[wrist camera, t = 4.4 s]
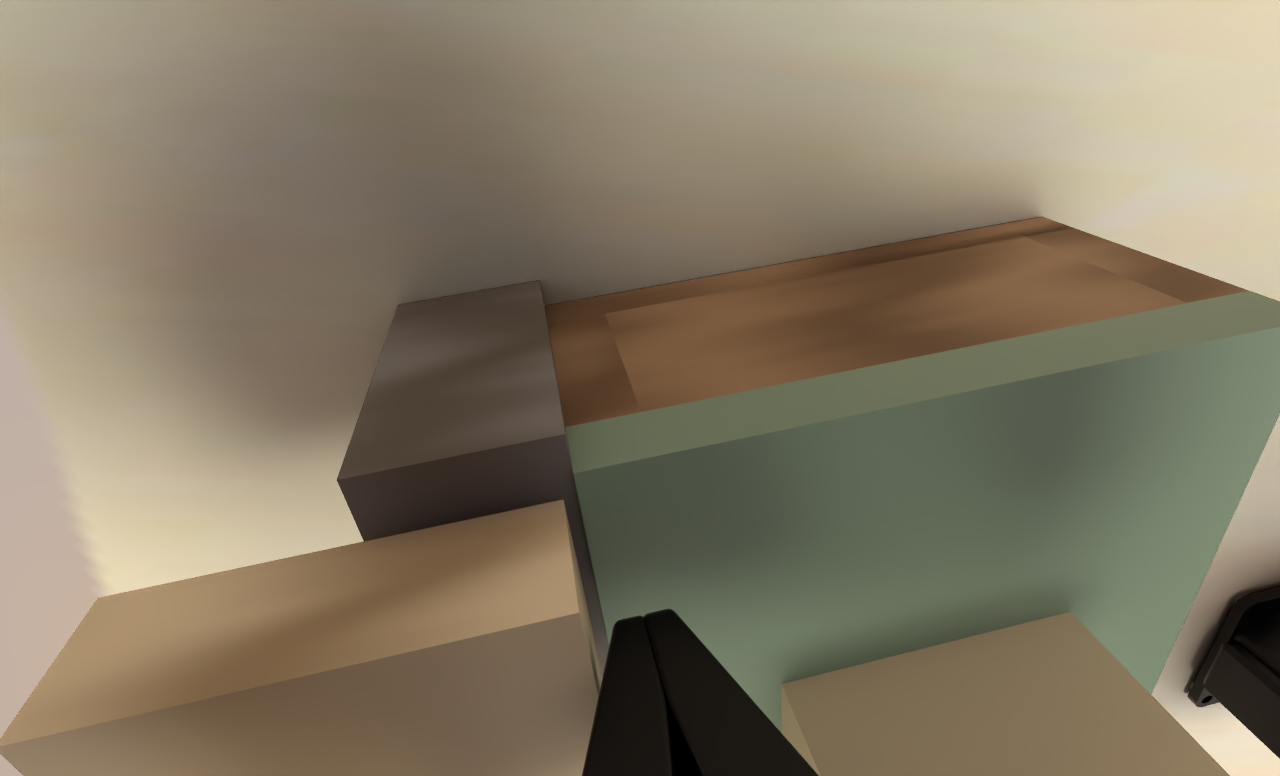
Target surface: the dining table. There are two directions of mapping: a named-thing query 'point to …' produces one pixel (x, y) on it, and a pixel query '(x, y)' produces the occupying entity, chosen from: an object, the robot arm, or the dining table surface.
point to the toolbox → (695, 357)
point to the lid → (950, 539)
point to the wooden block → (335, 665)
